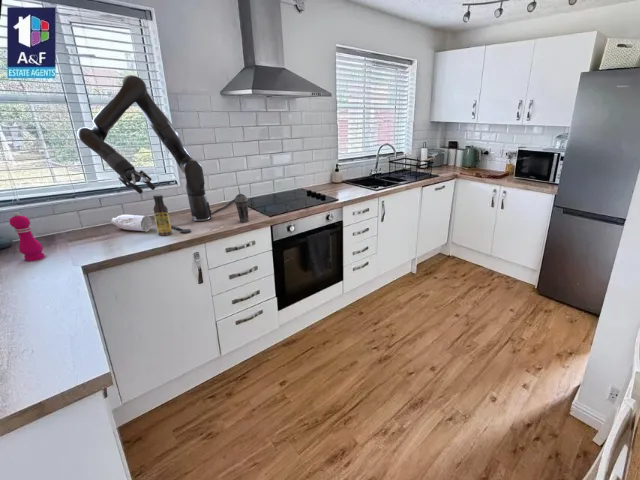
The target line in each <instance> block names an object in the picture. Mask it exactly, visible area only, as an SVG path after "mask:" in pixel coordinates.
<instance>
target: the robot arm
mask: <svg viewBox="0 0 640 480" xmlns="http://www.w3.org/2000/svg"><path fill="white" fill-rule="evenodd" d="M134 103H135V104H136V105H137V107H138V108H139V109H140V111H141V112H142V114H143V115H144V117H145V119H146V121H147V123H148V124H149V126H150V127H151V129H152V130H153V132H154V133H155V135H156V136H157V137H158V139H159V140H160V141H161V143H162V144H163V145H164V147H165V148H166V149H167V151H168V152H170V154H171V156H172V157H173V158H174V160H175V162H176V163H177V166H178V167H179V169H180V171H181V172H182V173H183V174H184V175H185V183H186V184H185V190H186V195H187V200H188V204H189V209H190V213H191V220H192V222H206V221H209V220H211V219H212V215H213V214H216V213H218V212H219V211H221V210H224V209H225V208H227V207H229V206H230V205H231V204H232V203H233V202H235V198H234V199H232V200H230V201H229V203H227V204H226V205H224V206H223V207H220V208H218V209H215V210H214V211H213V212H212V210H211V207H210V202H209V201H208V199H207V193H206V188H205V184H206V183H205V175H204V171H203V170H204V169H203V167H202V164H201V163H200V162H199V161H197V160H195V159H193V157H192V156H191V155H190V154H189V152H188V151H187V149H186V148H185V147H184V144H183V142H182V140H181V137H180V135H179V133H178V131H177V130H176V128H175V127H174V125H173V124H172V122H171V120H170V119H169V118H168V117H167V116H166V114H165V113H164V112H163V110H161V108H160V107H159V106H158V105H157V104H156V103H155V100H154V99H153V98H152V96H151V94H150V93H149V91H148V86H147V84H146V82H145V81H144V80H143V79H142V78H141V77H139V76H137V75H134V74H132V75H131V74H128V75H126V76H124V78H123V79H122V85H121V87H120V89H119V90H118V92H117V93H116V95H115V96H114V97H113V98H112V99H111V100H110V101H109V102H108V103H107V104H106V105H104V106H103V107H102V108H101V109H100V110H99V111H98V113H97V114H96V115H95V116H94V117H93V119H92V124H93V126H92V127H91V128H89V127H84V126H83V127H80V128H79V129H78V130H77V132H76V133H77V138H78V140H80V142H81V143H83V144H84V145H85V146H86V147H87V148H89V149H90V150H92V152H95V154H97V155H98V157H100V158H101V160H103V161H104V162H105V163H106V164H107V165H108V167H110V168H111V169H112V170H113V171H114V172H115V173H116V174H117V175H119V176H118V180H119V181H120V182H121V183H122V184H123V185H124V186H125V187H127V188H128V189H130V188H131V189H133V190H135V192H137V193H138V194H139V195H140V194H142V193H143V192H144V189H142V187H140V186H139V185H138V184H137V183H140V184H145V185H146V186H147V187H148V188H149V189H150V190H151V191H154V190H155V189H156V186H155V184H154V183H152V182H151V181H152V178H151V177H150V176H149V175H148V174H147V173H146V172H145V171H143V170H142V169H141V170H140V171H137V170H136V168H135V166H134V165H133V164H132V163H131V162H130V161H129V160H128V159H126V158H125V156H123V155H122V154H120V153H119V152H118V151H117V150H116V149H115V148H114V147H113V146H112V145H110V144H109V143H107V142H106V141H105V140H106V139H107V136H108V134H109V131H110V130H111V129H112V128H113V127H114V126H115V125H116V123H118V122H119V120H120V119H121V117H122V116H123V115H124V114H125V112H126V111H127V110H128V109H129V108H130V107H131V106H133V104H134Z"/></svg>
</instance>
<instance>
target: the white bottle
mask: <svg viewBox="0 0 640 480" xmlns="http://www.w3.org/2000/svg"><path fill="white" fill-rule="evenodd" d="M110 222H111V224H112V225H114V226H115V227H116V228H120V229H122V230H123V231H124V230H126V231H135V232H136V231H137V232H149V231H150V230H151V229H152V227H153V224H152V223H153V221H152V218H151V217H150V216H148V215H136V214H120V215H117V216H116V217H113V216H112V218H111V219H110Z"/></svg>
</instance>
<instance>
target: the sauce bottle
mask: <svg viewBox="0 0 640 480" xmlns="http://www.w3.org/2000/svg"><path fill="white" fill-rule="evenodd" d="M152 197H153V201H154V206H153V215H154V220H155V225H156V230H157V233H158V235H159V236H170V235H171V234H172V233H173V230H172V228H171V226H172V225H171V220H170V219H171V218H170V215H169V210H168V207H167V206H166V205H165V203H164V196H163V194H153V195H152Z"/></svg>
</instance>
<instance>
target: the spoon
mask: <svg viewBox="0 0 640 480" xmlns="http://www.w3.org/2000/svg"><path fill="white" fill-rule="evenodd" d="M171 229H174V230H176V231H179V233H180V234H183V235H184V234H189V233H191V232H192V231H191V229H189V228H181V227H178V226H174V225H171Z"/></svg>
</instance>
